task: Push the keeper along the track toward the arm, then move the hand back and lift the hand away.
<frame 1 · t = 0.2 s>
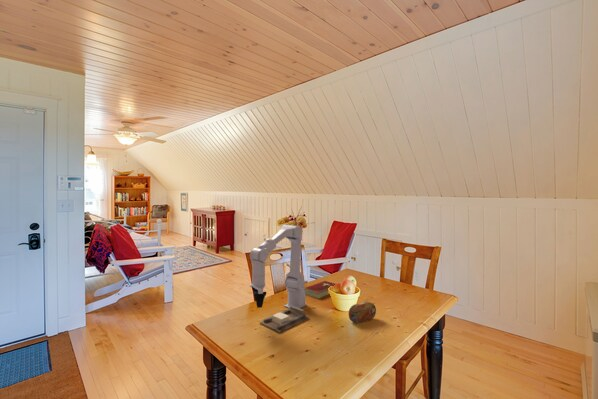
hand: (258, 304, 133), 10 cm above the table, tool pointing down, fingers open, 7 cm apart
track: (285, 321, 138), on the table
brown rounded piece: (362, 321, 140), on the table
hardcover book: (321, 293, 179), on the table
keeper: (280, 318, 136), point 2 cm above the table, slide at 0.0 cm
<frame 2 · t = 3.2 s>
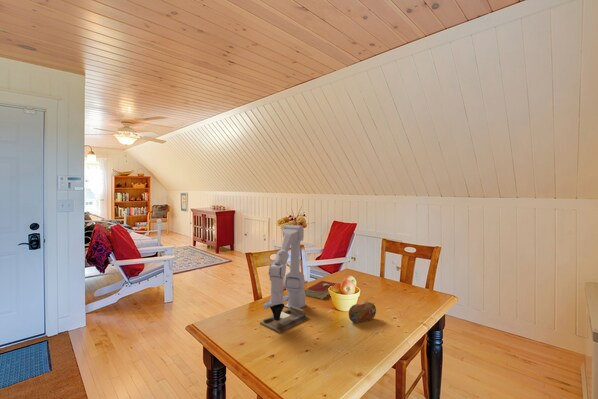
hand: (276, 319, 134), 2 cm above the table, tool pointing down, fingers closed
keeper: (282, 317, 137), point 2 cm above the table, slide at 1.0 cm, touching gripper
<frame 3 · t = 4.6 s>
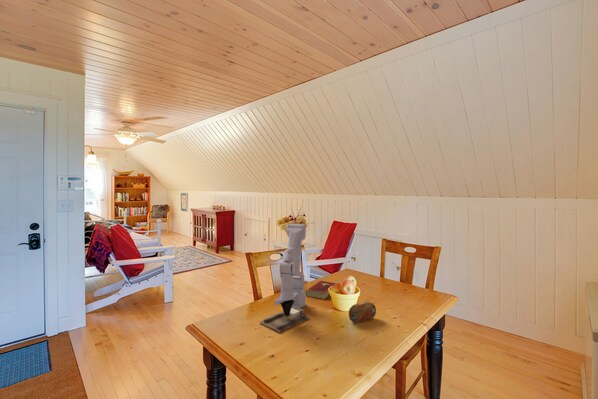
hand: (286, 315, 139), 2 cm above the table, tool pointing down, fingers closed
keeper: (291, 313, 142), point 2 cm above the table, slide at 7.6 cm, touching gripper
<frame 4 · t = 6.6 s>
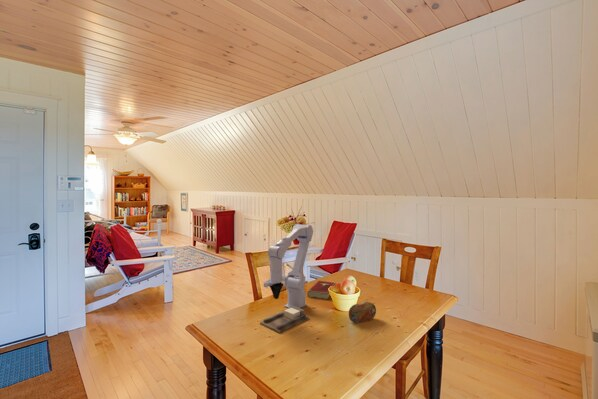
hand: (276, 298, 142), 9 cm above the table, tool pointing down, fingers closed
keeper: (292, 313, 142), point 2 cm above the table, slide at 7.7 cm
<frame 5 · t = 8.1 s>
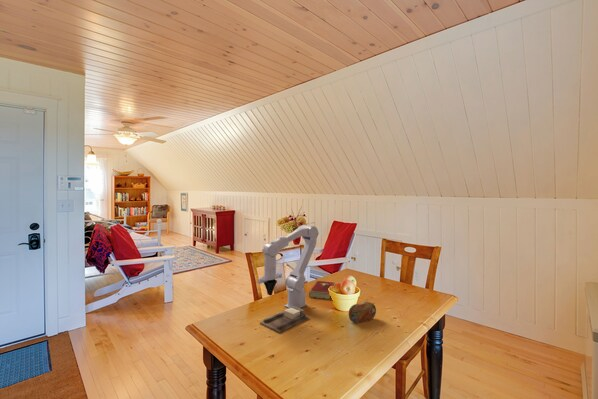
hand: (269, 294, 147), 9 cm above the table, tool pointing down, fingers closed
at the end: keeper slide at 7.7 cm; the gripper is holding nothing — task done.
